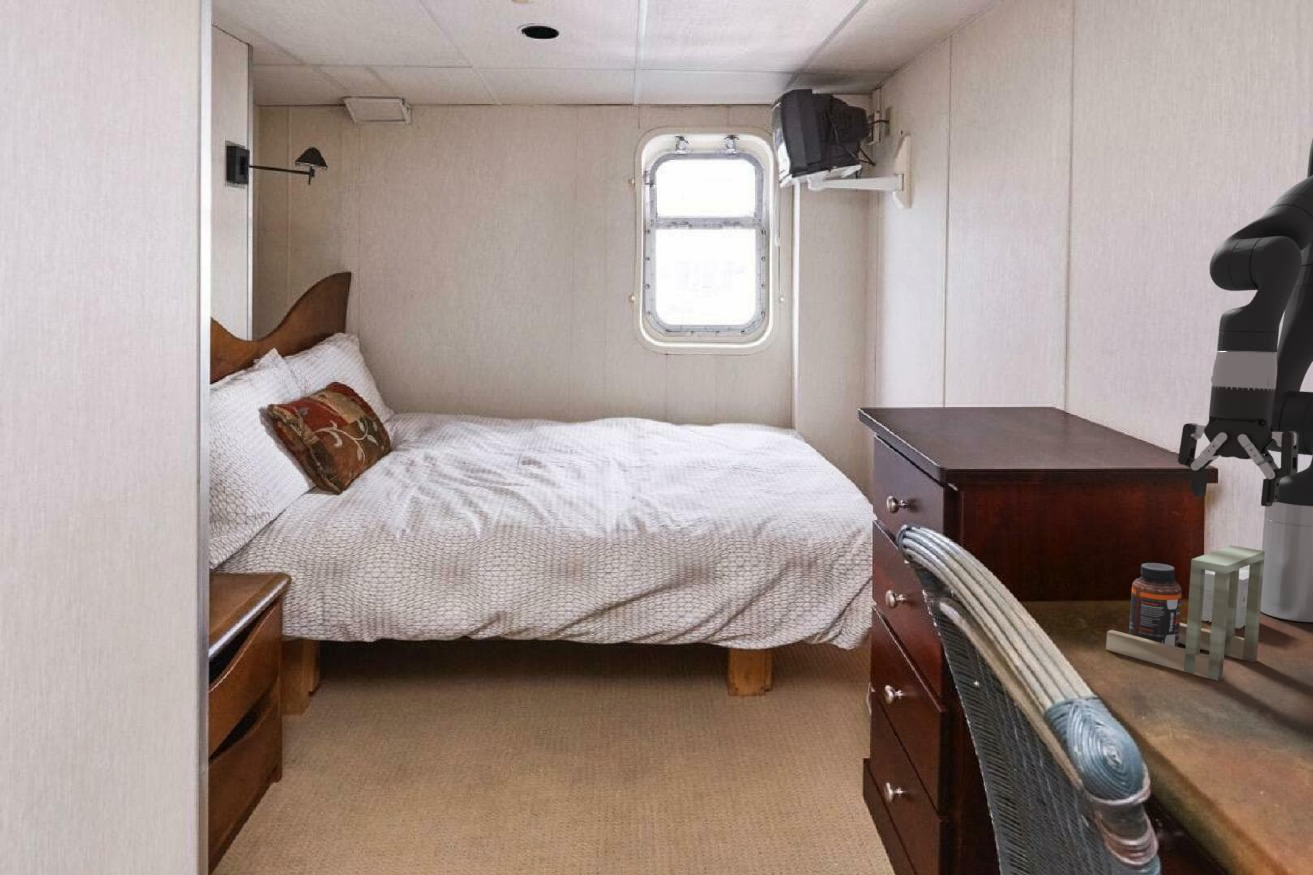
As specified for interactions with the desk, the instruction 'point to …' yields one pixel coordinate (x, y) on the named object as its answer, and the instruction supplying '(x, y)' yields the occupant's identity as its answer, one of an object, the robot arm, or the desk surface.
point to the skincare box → (1240, 597)
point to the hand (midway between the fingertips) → (1232, 501)
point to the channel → (1223, 618)
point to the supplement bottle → (1156, 604)
